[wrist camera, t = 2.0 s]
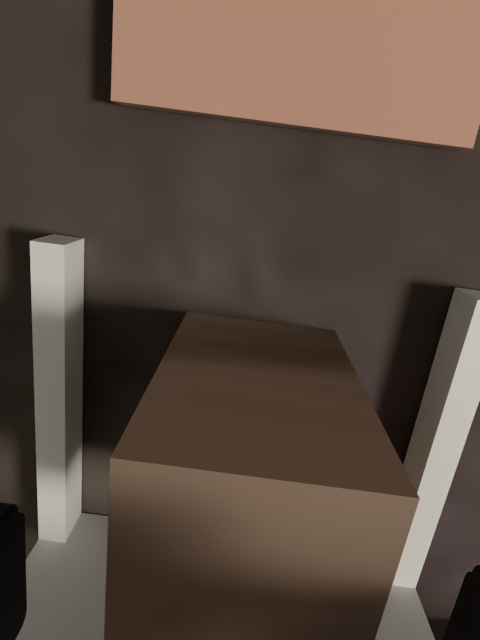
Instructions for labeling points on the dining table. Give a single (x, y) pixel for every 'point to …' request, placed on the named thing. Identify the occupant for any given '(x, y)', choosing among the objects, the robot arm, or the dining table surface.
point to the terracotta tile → (307, 64)
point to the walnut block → (253, 493)
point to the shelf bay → (92, 530)
